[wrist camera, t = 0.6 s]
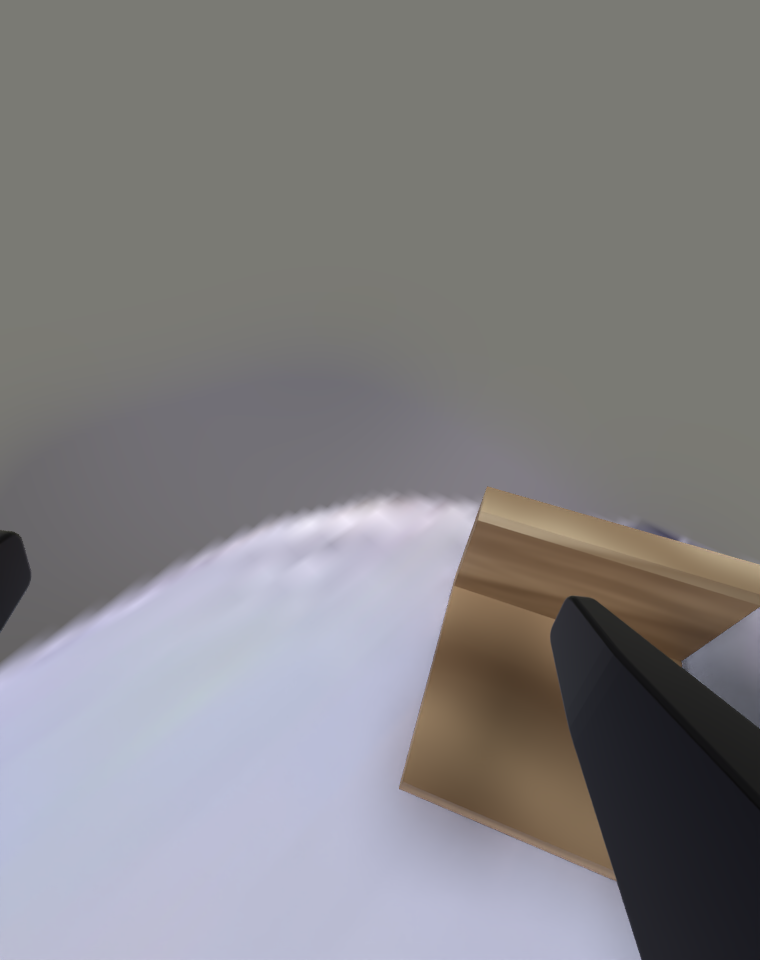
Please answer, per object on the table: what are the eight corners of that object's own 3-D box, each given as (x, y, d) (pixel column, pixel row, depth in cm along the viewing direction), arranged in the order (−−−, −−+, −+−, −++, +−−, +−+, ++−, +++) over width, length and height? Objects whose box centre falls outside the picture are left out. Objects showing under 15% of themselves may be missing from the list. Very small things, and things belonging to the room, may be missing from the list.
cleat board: (686, 911, 16) (865, 917, 11) (398, 788, 18) (423, 740, 13) (661, 645, 23) (763, 565, 18) (455, 577, 25) (486, 486, 20)
